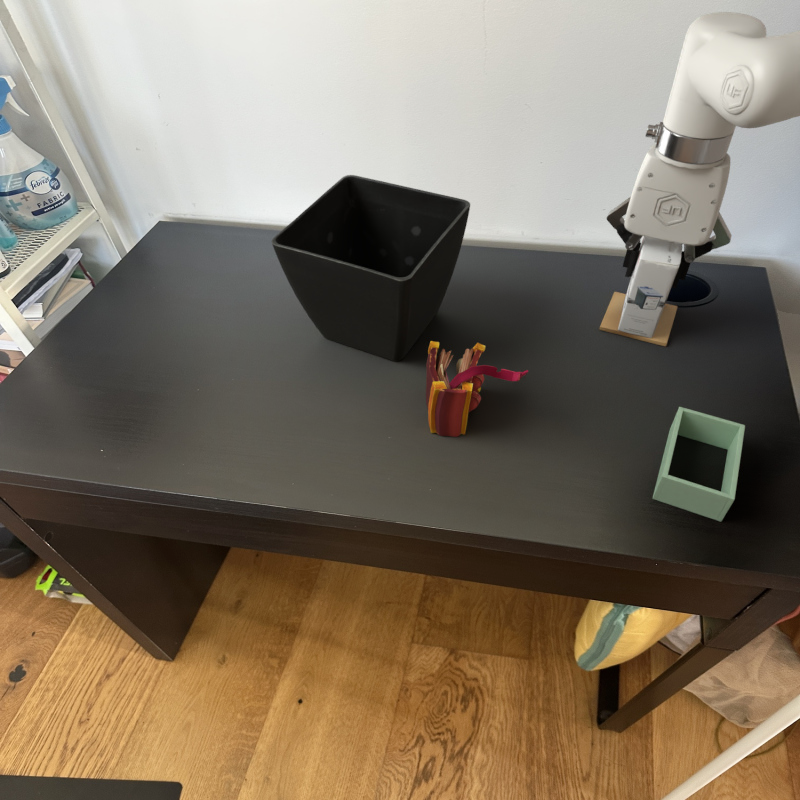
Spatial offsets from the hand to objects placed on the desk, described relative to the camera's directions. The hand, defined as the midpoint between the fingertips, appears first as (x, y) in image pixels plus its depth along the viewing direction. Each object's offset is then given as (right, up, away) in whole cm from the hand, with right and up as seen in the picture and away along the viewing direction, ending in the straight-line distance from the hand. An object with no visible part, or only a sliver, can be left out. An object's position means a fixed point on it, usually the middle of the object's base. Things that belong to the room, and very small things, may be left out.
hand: (652, 275), depth 83 cm
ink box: (0, -5, +5) cm, 7 cm away
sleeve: (-1, -25, -14) cm, 28 cm away
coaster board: (0, -5, +5) cm, 7 cm away
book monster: (-25, -19, -6) cm, 32 cm away
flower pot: (-36, -6, +6) cm, 38 cm away
